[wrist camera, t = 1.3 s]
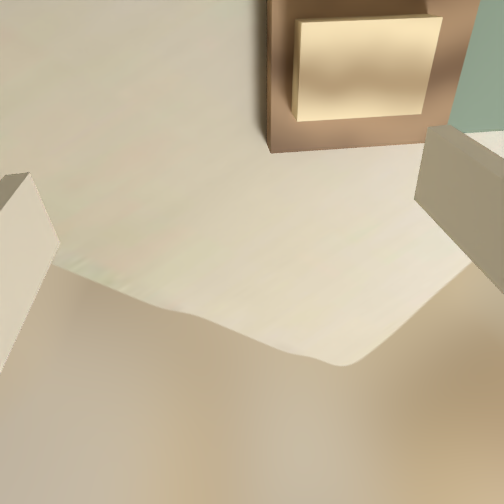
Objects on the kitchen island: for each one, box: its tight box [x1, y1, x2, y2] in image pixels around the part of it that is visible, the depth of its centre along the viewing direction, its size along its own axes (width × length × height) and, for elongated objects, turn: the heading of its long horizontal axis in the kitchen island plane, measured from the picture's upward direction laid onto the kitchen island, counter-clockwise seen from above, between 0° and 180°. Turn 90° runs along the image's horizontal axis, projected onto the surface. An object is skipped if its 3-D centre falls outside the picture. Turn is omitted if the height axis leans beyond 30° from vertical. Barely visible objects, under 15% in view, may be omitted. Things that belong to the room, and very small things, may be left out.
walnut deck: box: [267, 0, 480, 153], centre depth 29 cm, size 12×14×2 cm
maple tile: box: [291, 14, 443, 122], centre depth 27 cm, size 6×9×2 cm, turn 91°
